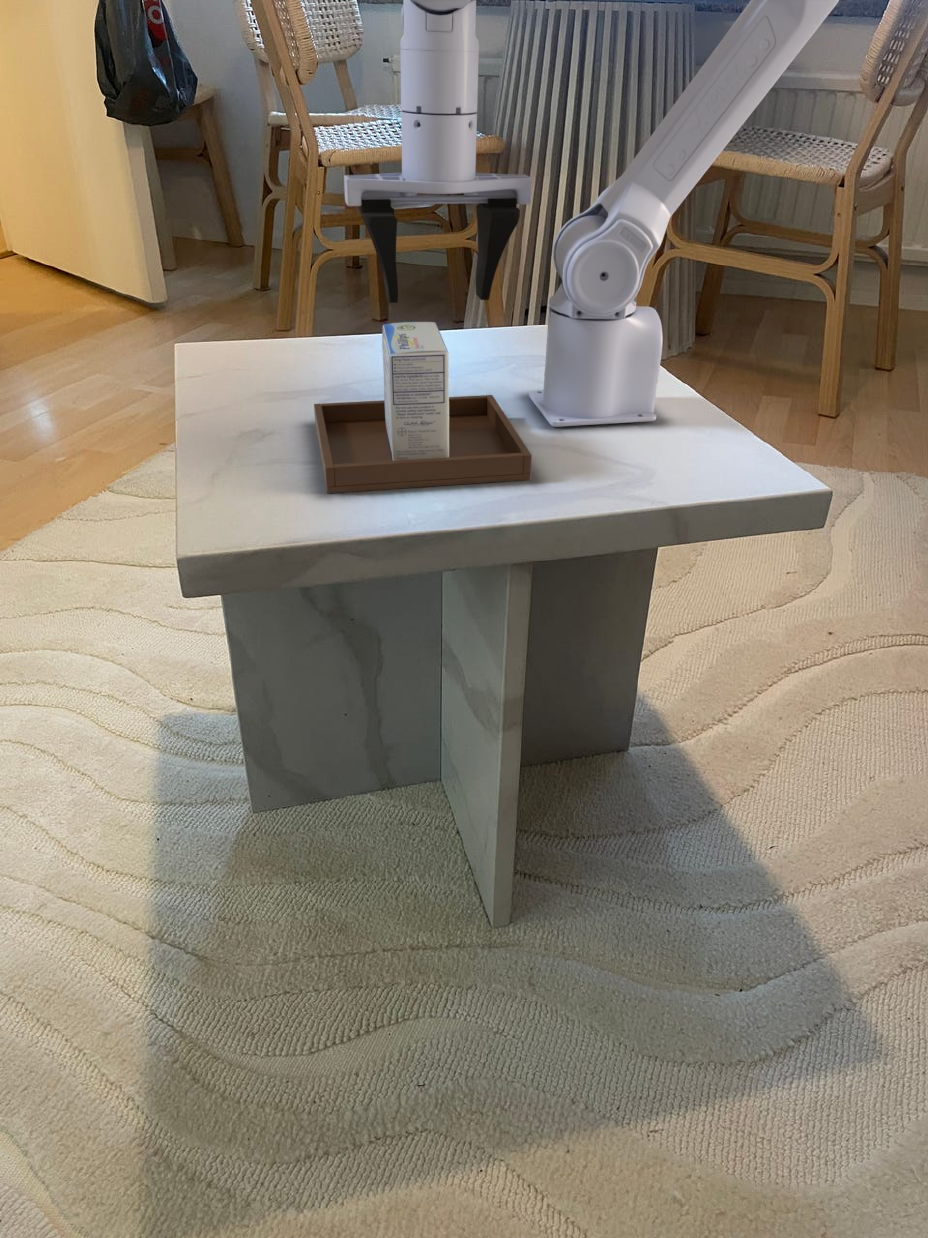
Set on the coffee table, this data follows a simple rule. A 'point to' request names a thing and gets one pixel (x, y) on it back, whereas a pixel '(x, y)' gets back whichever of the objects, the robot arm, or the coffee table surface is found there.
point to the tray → (366, 463)
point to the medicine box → (416, 390)
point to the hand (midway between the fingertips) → (437, 298)
